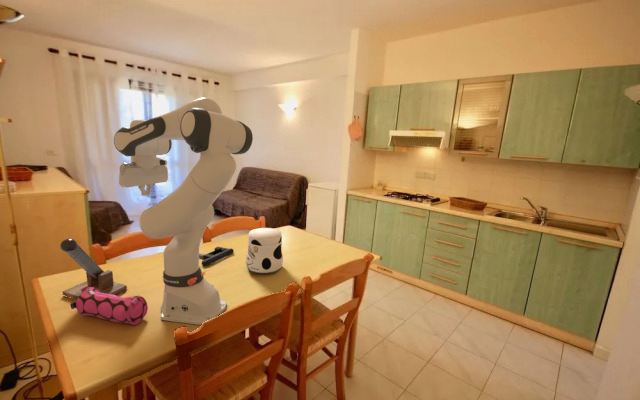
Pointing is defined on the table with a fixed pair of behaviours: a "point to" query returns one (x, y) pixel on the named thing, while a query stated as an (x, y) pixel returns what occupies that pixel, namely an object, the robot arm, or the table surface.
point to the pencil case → (110, 306)
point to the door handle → (213, 257)
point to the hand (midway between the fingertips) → (146, 195)
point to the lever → (81, 258)
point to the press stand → (97, 285)
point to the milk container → (264, 250)
